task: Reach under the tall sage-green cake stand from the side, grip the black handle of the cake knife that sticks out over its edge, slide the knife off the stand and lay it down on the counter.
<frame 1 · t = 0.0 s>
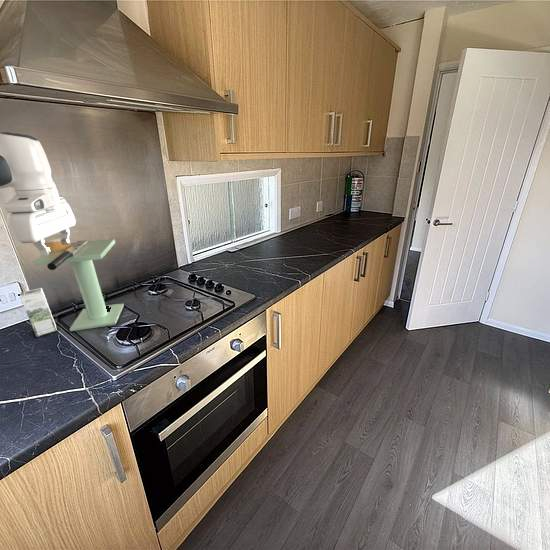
hand: (56, 249, 83), 29 cm above the worktop, tool pointing down, fingers open, 8 cm apart
syrup box: (46, 331, 99), on the worktop
cake stand: (99, 317, 105), on the worktop
cake knife: (67, 258, 87), point 26 cm above the worktop, touching cake stand
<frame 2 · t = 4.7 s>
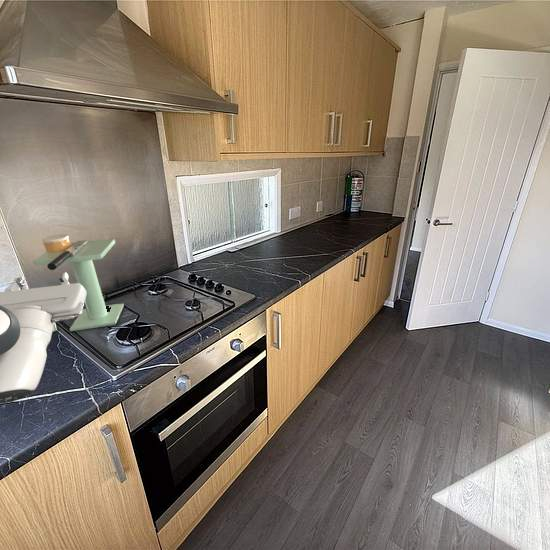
hand: (42, 276, 73), 26 cm above the worktop, tool pointing upward, fingers open, 8 cm apart
nothing on the worktop moved.
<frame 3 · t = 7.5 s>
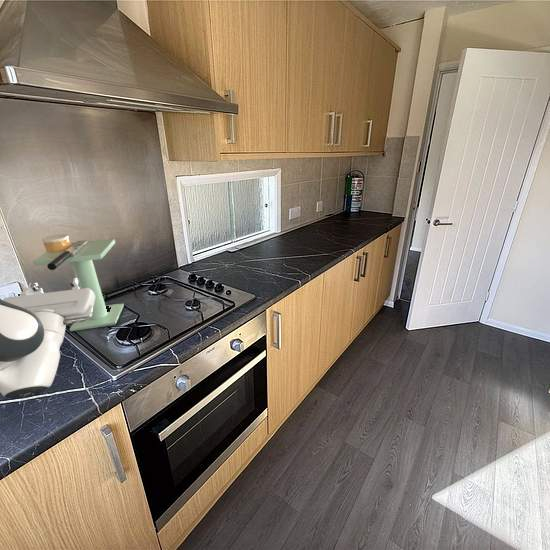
hand: (54, 281, 78), 23 cm above the worktop, tool pointing upward, fingers open, 8 cm apart
nothing on the worktop moved.
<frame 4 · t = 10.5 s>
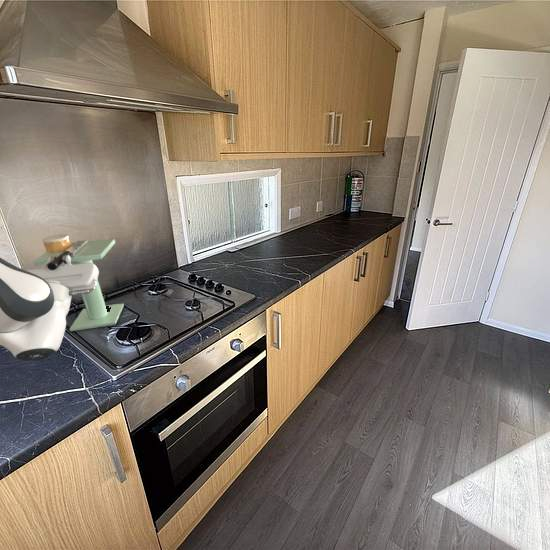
hand: (60, 257, 83), 27 cm above the worktop, tool pointing upward, fingers closed on cake knife, 2 cm apart
cake knife: (67, 258, 87), point 26 cm above the worktop, touching cake stand, gripper
everything else where it was.
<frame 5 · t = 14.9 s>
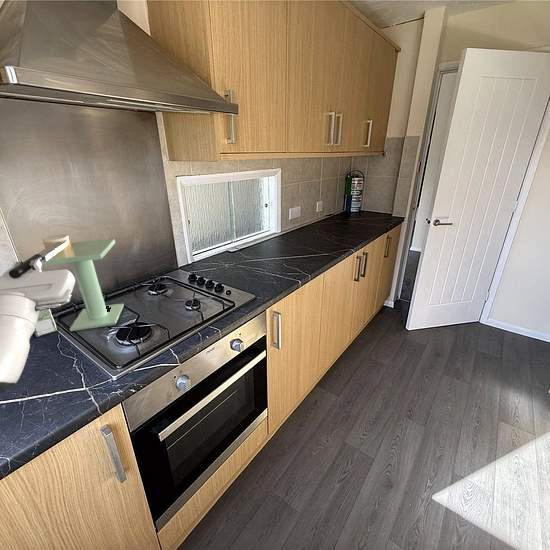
hand: (28, 262, 68), 32 cm above the worktop, tool pointing upward, fingers closed on cake knife
cake knife: (38, 262, 71), point 30 cm above the worktop, touching gripper
everything else where it was.
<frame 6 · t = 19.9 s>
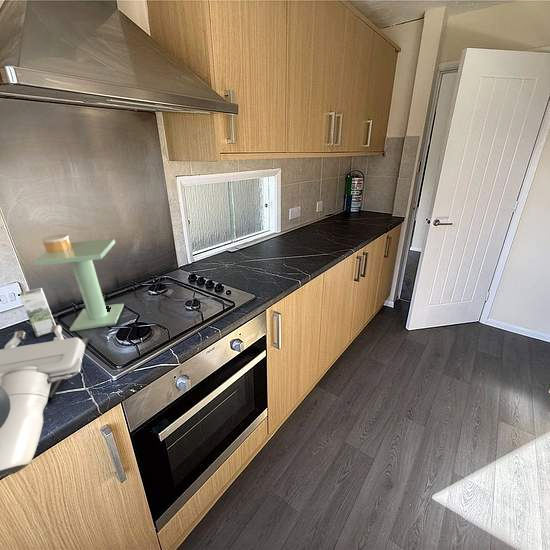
hand: (39, 329, 70), 16 cm above the worktop, tool pointing upward, fingers open, 6 cm apart
cake knife: (64, 374, 79), on the worktop
everything else where it was.
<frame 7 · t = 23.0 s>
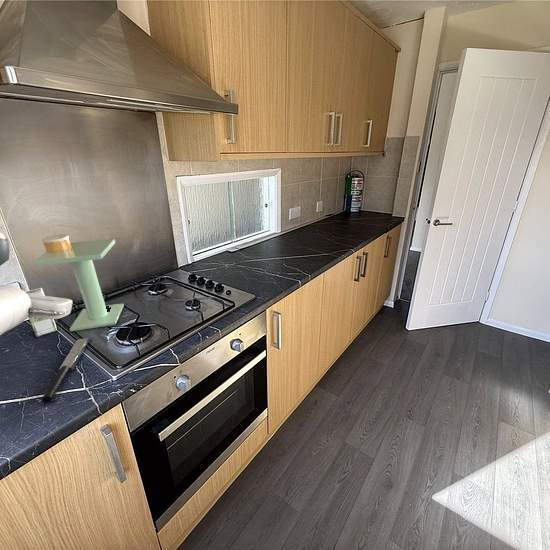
hand: (28, 296, 70), 23 cm above the worktop, tool tilted 75°, fingers open, 8 cm apart
nothing on the worktop moved.
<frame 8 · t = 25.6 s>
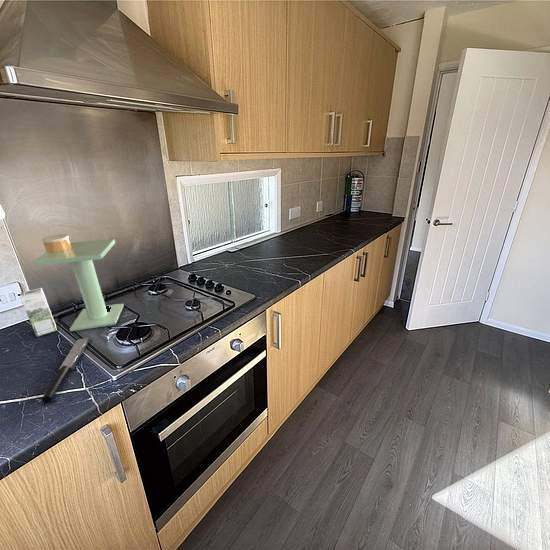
nothing on the worktop moved.
at the end: cake knife on the worktop; cake knife touching worktop; the gripper is holding nothing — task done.
